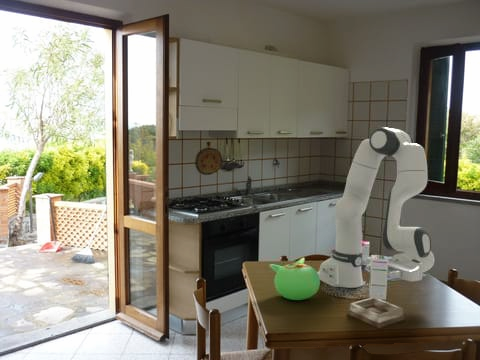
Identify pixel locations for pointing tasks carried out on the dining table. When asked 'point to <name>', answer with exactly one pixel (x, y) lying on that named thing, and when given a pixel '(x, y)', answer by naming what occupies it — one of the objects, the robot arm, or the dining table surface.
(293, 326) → the dining table surface
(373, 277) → the syrup box
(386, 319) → the socket stand
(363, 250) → the supplement box
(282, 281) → the toy bird
